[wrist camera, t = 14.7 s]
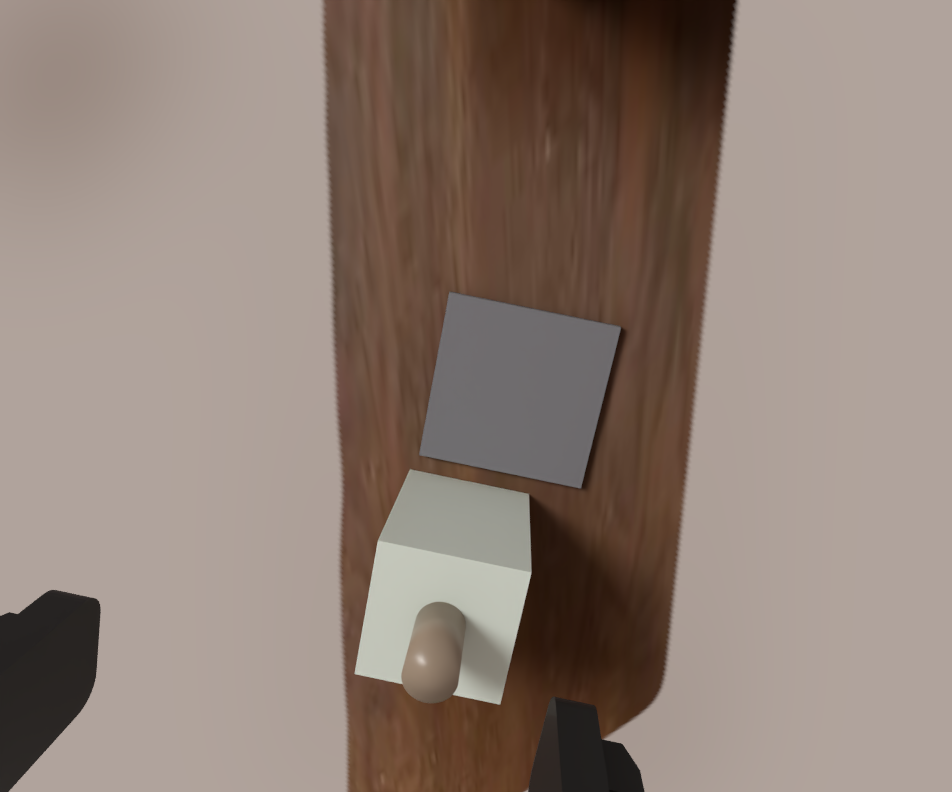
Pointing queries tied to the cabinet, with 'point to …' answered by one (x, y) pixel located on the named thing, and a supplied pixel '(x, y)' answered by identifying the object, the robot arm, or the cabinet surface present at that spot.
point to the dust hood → (447, 589)
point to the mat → (517, 389)
